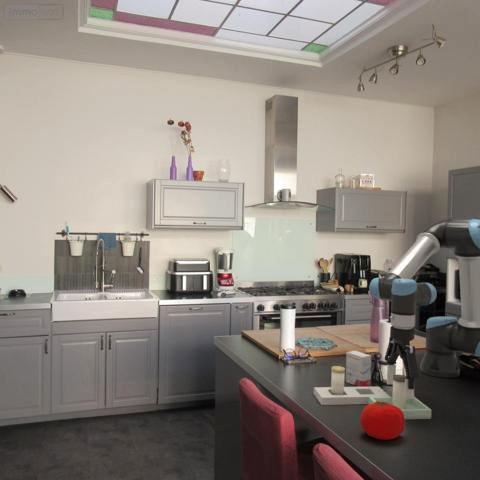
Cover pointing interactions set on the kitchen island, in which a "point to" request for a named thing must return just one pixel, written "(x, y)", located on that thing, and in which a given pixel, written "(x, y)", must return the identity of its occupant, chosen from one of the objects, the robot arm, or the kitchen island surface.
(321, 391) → the socket strip
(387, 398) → the parts tray
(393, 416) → the tomato
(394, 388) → the cylinder
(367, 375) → the ink box
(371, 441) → the kitchen island surface
